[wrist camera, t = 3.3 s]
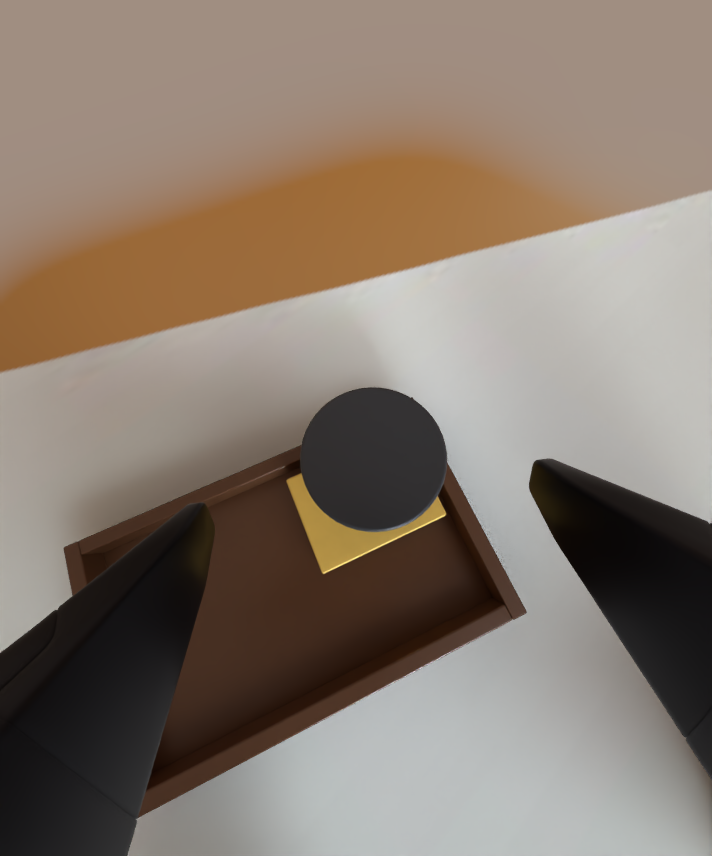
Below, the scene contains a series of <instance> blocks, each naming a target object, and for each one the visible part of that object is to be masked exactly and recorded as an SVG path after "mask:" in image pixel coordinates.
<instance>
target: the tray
mask: <svg viewBox="0 0 712 856" xmlns="http://www.w3.org/2000/svg"><path fill="white" fill-rule="evenodd" d="M411 398H412V397H411ZM412 399H413V398H412ZM413 400H414V399H413ZM300 452H301V445H300V446H298V447H296V448H293V449H291V450H289V451H286V452H284V453H282V454H279V455H277V456H275V457H272V458H270V459H268V460H265V461H263V462H261V463H258V464H256V465H254V466H251V467H249V468H247V469H245V470H242V471H240V472H238V473H235V474H233V475H231V476H228V477H226V478H224V479H221V480H219V481H217V482H214V483H212V484H210V485H207V486H205V487H203V488H200V489H198V490H196V491H193V492H191V493H189V494H186V495H184V496H182V497H179V498H177V499H175V500H173V501H170V502H168V503H166V504H163V505H161V506H159V507H156V508H154V509H152V510H149V511H147V512H145V513H142V514H140V515H138V516H135V517H133V518H131V519H128V520H126V521H124V522H121V523H119V524H117V525H114V526H112V527H110V528H107V529H105V530H103V531H101V532H98V533H96V534H94V535H91V536H89V537H87V538H84V539H82V540H80V541H78V542H75V543H73V544H70V545H68V546H66V547H64V553H65V558H66V564H67V569H68V574H69V579H70V585H71V590H72V595H75V594H76V593H77V592H79V591H80V590H81V589H82V588H84V587H85V586H86V585H87V584H89V583H90V582H91V581H92V580H94V579H95V578H96V577H97V576H99V575H100V574H101V573H102V572H104V571H105V570H106V569H107V568H109V567H110V566H111V565H112V564H114V563H115V562H116V561H117V560H119V559H120V558H121V557H122V556H124V555H125V554H126V553H127V552H129V551H130V550H131V549H132V548H134V547H135V546H136V545H137V544H139V543H140V542H141V541H142V540H144V539H145V538H146V537H147V536H149V535H150V534H151V533H152V532H154V531H155V530H156V529H157V528H159V527H160V526H161V525H162V524H164V523H165V522H166V521H167V520H169V519H170V518H171V517H172V516H174V515H175V514H176V513H178V512H179V511H180V510H181V509H183V508H184V507H185V506H186V505H188V504H191V503H199V502H203V503H205V504H206V505H207V507H208V510H209V512H210V515H211V517H212V520H213V522H214V525H215V536H214V542H213V548H212V553H211V559H210V565H209V570H208V576H207V581H206V586H205V590H204V594H203V597H202V601H201V604H200V608H199V611H198V614H197V618H196V621H195V625H194V628H193V631H192V635H191V638H190V642H189V645H188V648H187V652H186V655H185V659H184V662H183V666H182V669H181V672H180V676H179V679H178V683H177V686H176V689H175V693H174V696H173V700H172V703H171V706H170V710H169V713H168V717H167V720H166V724H165V727H164V730H163V734H162V737H161V741H160V744H159V747H158V751H157V754H156V758H155V761H154V764H153V768H152V771H151V775H150V778H149V782H148V785H147V788H146V792H145V795H144V799H143V802H142V805H141V809H140V812H139V816H138V818H139V817H141V816H143V815H144V814H146V813H148V812H150V811H152V810H154V809H156V808H158V807H160V806H161V805H163V804H165V803H167V802H169V801H171V800H173V799H175V798H177V797H178V796H180V795H182V794H184V793H186V792H188V791H190V790H192V789H194V788H196V787H197V786H199V785H201V784H203V783H205V782H207V781H209V780H211V779H213V778H214V777H216V776H218V775H220V774H222V773H224V772H226V771H228V770H230V769H231V768H233V767H235V766H237V765H239V764H241V763H243V762H245V761H247V760H249V759H250V758H252V757H254V756H256V755H258V754H260V753H262V752H264V751H266V750H267V749H269V748H271V747H273V746H275V745H277V744H279V743H281V742H283V741H284V740H286V739H288V738H290V737H292V736H294V735H296V734H298V733H300V732H302V731H303V730H305V729H307V728H309V727H311V726H313V725H315V724H317V723H319V722H320V721H322V720H324V719H326V718H328V717H330V716H332V715H334V714H336V713H337V712H339V711H341V710H343V709H345V708H347V707H349V706H351V705H353V704H355V703H356V702H358V701H360V700H362V699H364V698H366V697H368V696H370V695H372V694H373V693H375V692H377V691H379V690H381V689H383V688H385V687H387V686H389V685H390V684H392V683H394V682H396V681H398V680H400V679H402V678H404V677H406V676H408V675H409V674H411V673H413V672H415V671H417V670H419V669H421V668H423V667H425V666H426V665H428V664H430V663H432V662H434V661H436V660H438V659H440V658H442V657H443V656H445V655H447V654H449V653H451V652H453V651H455V650H457V649H459V648H461V647H462V646H464V645H466V644H468V643H470V642H472V641H474V640H476V639H478V638H479V637H481V636H483V635H485V634H487V633H489V632H491V631H493V630H495V629H496V628H498V627H500V626H502V625H504V624H506V623H508V622H510V621H511V620H512V619H513V620H514V619H516V618H518V617H520V616H522V615H524V614H526V613H527V612H526V610H525V608H524V606H523V604H522V602H521V600H520V598H519V597H518V595H517V593H516V591H515V589H514V587H513V585H512V583H511V582H510V580H509V578H508V576H507V574H506V572H505V570H504V568H503V566H502V565H501V563H500V561H499V559H498V557H497V555H496V553H495V551H494V550H493V548H492V546H491V544H490V542H489V540H488V538H487V536H486V535H485V533H484V531H483V529H482V527H481V525H480V523H479V521H478V519H477V518H476V516H475V514H474V512H473V510H472V508H471V506H470V504H469V503H468V501H467V499H466V497H465V495H464V493H463V491H462V489H461V488H460V486H459V484H458V482H457V480H456V478H455V476H454V474H453V472H452V471H451V469H450V467H449V465H448V463H447V469H446V475H445V480H444V483H443V486H442V488H441V491H440V493H439V494H438V498H439V500H440V502H441V504H442V506H443V508H444V510H445V512H446V515H445V516H444V517H442V518H440V519H438V520H435V521H433V522H431V523H429V524H427V525H425V526H423V527H421V528H419V529H417V530H415V531H412V532H410V533H408V534H406V535H404V536H402V537H400V538H398V539H396V540H394V541H392V542H389V543H387V544H385V545H383V546H381V547H379V548H377V549H375V550H373V551H371V552H369V553H366V554H364V555H362V556H360V557H358V558H356V559H354V560H352V561H350V562H348V563H346V564H343V565H341V566H339V567H337V568H335V569H333V570H331V571H329V572H327V573H324V574H323V573H322V572H321V569H320V567H319V564H318V561H317V559H316V556H315V554H314V551H313V549H312V546H311V543H310V541H309V538H308V536H307V533H306V531H305V528H304V525H303V523H302V520H301V518H300V515H299V513H298V510H297V507H296V505H295V502H294V500H293V497H292V495H291V492H290V489H289V487H288V484H287V479H289V478H291V477H294V476H296V475H298V474H300V473H301V467H300Z"/></svg>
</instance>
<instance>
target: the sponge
mask: <svg viewBox="0 0 712 856" xmlns="http://www.w3.org/2000/svg"><path fill="white" fill-rule="evenodd" d="M300 467H301V473H300V474H298V475H296V476H294V477H291V478H289V479H287V484H288V487H289V489H290V492H291V495H292V497H293V500H294V502H295V505H296V507H297V510H298V513H299V515H300V518H301V520H302V523H303V525H304V528H305V531H306V533H307V536H308V538H309V541H310V543H311V546H312V549H313V551H314V554H315V556H316V559H317V561H318V564H319V567H320V569H321V572H322V573H323V574H324V573H327V572H329V571H331V570H333V569H335V568H337V567H339V566H341V565H343V564H346V563H348V562H350V561H352V560H354V559H356V558H358V557H360V556H362V555H364V554H366V553H369V552H371V551H373V550H375V549H377V548H379V547H381V546H383V545H385V544H387V543H389V542H392V541H394V540H396V539H398V538H400V537H402V536H404V535H406V534H408V533H410V532H412V531H415V530H417V529H419V528H421V527H423V526H425V525H427V524H429V523H431V522H433V521H435V520H438V519H440V518H442V517H444V516H445V515H446V512H445V510H444V508H443V506H442V504H441V502H440V500H439V498H438V494H439V493H440V491H441V488H442V486H443V483H444V480H445V475H446V469H447V452H446V446H445V442H444V439H443V435H442V433H441V431H440V429H439V427H438V425H437V423H436V422H435V420H434V419H433V417H432V416H431V415H430V414H429V412H428V411H427V410H426V409H425V408H424V407H422V406H421V405H420V404H419V403H418V402H416V401H415V400H413V399H412V398H410V397H408V396H406V395H404V394H402V393H399V392H397V391H393V390H390V389H384V388H371V387H370V388H361V389H356V390H352V391H349V392H346V393H343V394H341V395H339V396H337V397H335V398H334V399H332V400H331V401H329V402H328V403H327V404H326V405H325V406H323V407H322V408H321V409H320V410H319V411H318V413H317V414H316V415H315V416H314V418H313V419H312V420H311V422H310V424H309V426H308V428H307V429H306V432H305V435H304V437H303V441H302V445H301V452H300Z"/></svg>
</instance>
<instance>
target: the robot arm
mask: <svg viewBox="0 0 712 856" xmlns="http://www.w3.org/2000/svg"><path fill="white" fill-rule="evenodd" d="M529 489H530V492H531V494H532V496H533V498H534V500H535V502H536V504H537V506H538V508H539V510H540V512H541V514H542V516H543V518H544V520H545V522H546V524H547V525H548V527H549V529H550V531H551V533H552V535H553V537H554V539H555V540H556V542H557V544H558V545H559V547H560V548H561V550H562V551H563V553H564V555H565V556H566V558H567V559H568V561H569V562H570V564H571V565H572V567H573V568H574V570H575V571H576V573H577V574H578V576H579V577H580V579H581V580H582V582H583V584H584V585H585V587H586V588H587V590H588V591H589V593H590V594H591V596H592V597H593V599H594V600H595V602H596V603H597V605H598V606H599V608H600V609H601V611H602V613H603V614H604V616H605V617H606V619H607V620H608V622H609V623H610V625H611V626H612V628H613V629H614V631H615V632H616V634H617V635H618V637H619V638H620V640H621V642H622V643H623V645H624V646H625V648H626V649H627V651H628V652H629V654H630V655H631V657H632V658H633V660H634V661H635V663H636V664H637V666H638V668H639V669H640V671H641V672H642V674H643V675H644V677H645V678H646V680H647V681H648V683H649V684H650V686H651V687H652V689H653V690H654V692H655V693H656V695H657V697H658V698H659V700H660V701H661V703H662V704H663V706H664V707H665V709H666V710H667V712H668V713H669V715H670V716H671V718H672V719H673V721H674V722H675V724H676V726H677V727H678V729H679V730H680V732H681V733H682V735H683V736H684V737H686V741H687V743H688V744H689V746H690V747H691V749H692V750H693V752H694V754H695V755H696V757H697V758H698V760H699V761H700V763H701V764H702V766H703V767H704V769H705V770H706V772H707V773H708V775H709V776H710V778H711V779H712V523H710V524H709V523H708V522H707V521H705V520H702V519H700V518H698V517H695V516H693V515H690V514H688V513H685V512H683V511H680V510H678V509H675V508H673V507H670V506H668V505H665V504H663V503H660V502H658V501H655V500H653V499H650V498H648V497H645V496H643V495H640V494H638V493H635V492H633V491H630V490H628V489H625V488H623V487H620V486H618V485H615V484H613V483H610V482H608V481H606V480H603V479H601V478H598V477H596V476H593V475H591V474H588V473H586V472H583V471H581V470H578V469H576V468H573V467H571V466H568V465H566V464H563V463H561V462H558V461H556V460H553V459H541V460H536V461H535V462H534V463H533V466H532V471H531V477H530V482H529ZM214 536H215V525H214V522H213V520H212V517H211V515H210V512H209V510H208V507H207V505H206V504H205V503H203V502H199V503H191V504H188V505H186V506H185V507H184V508H183V509H181V510H180V511H179V512H178V513H176V514H175V515H174V516H172V517H171V518H170V519H169V520H167V521H166V522H165V523H164V524H162V525H161V526H160V527H159V528H157V529H156V530H155V531H154V532H152V533H151V534H150V535H149V536H147V537H146V538H145V539H144V540H142V541H141V542H140V543H139V544H137V545H136V546H135V547H134V548H132V549H131V550H130V551H129V552H127V553H126V554H125V555H124V556H122V557H121V558H120V559H119V560H117V561H116V562H115V563H114V564H112V565H111V566H110V567H109V568H107V569H106V570H105V571H104V572H102V573H101V574H100V575H99V576H97V577H96V578H95V579H94V580H92V581H91V582H90V583H89V584H87V585H86V586H85V587H84V588H82V589H81V590H80V591H79V592H77V593H76V594H75V595H73V596H72V597H71V598H70V599H68V600H67V601H66V602H65V603H63V604H62V605H61V606H60V607H59V608H58V610H55V611H53V612H52V613H51V614H50V615H48V616H47V617H46V618H45V619H43V620H42V621H41V622H40V623H38V624H37V625H36V626H35V627H33V628H32V629H31V630H29V631H28V632H27V633H26V634H24V635H23V636H22V637H20V638H19V639H18V640H17V641H15V642H14V643H13V644H11V645H10V646H9V647H8V648H6V649H5V650H4V651H2V652H1V653H0V856H127V854H128V851H129V847H130V844H131V841H132V837H133V834H134V830H135V827H136V824H137V820H136V819H137V818H138V816H139V812H140V809H141V805H142V802H143V799H144V795H145V792H146V788H147V785H148V782H149V778H150V775H151V771H152V768H153V764H154V761H155V758H156V754H157V751H158V747H159V744H160V741H161V737H162V734H163V730H164V727H165V724H166V720H167V717H168V713H169V710H170V706H171V703H172V700H173V696H174V693H175V689H176V686H177V683H178V679H179V676H180V672H181V669H182V666H183V662H184V659H185V655H186V652H187V648H188V645H189V642H190V638H191V635H192V631H193V628H194V625H195V621H196V618H197V614H198V611H199V608H200V604H201V601H202V597H203V594H204V590H205V586H206V581H207V576H208V570H209V565H210V559H211V553H212V548H213V542H214Z"/></svg>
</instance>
